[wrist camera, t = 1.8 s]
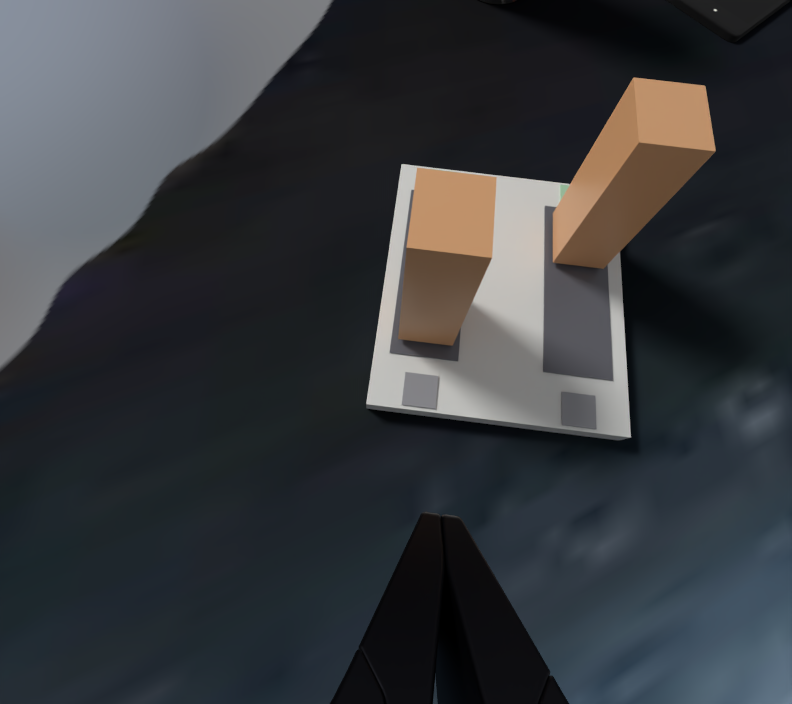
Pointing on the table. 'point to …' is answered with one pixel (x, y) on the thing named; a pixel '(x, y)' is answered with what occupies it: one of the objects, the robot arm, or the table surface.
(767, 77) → the table surface
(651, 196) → the tab
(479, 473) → the table surface
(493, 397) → the switch bank
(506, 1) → the deodorant
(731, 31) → the cell phone
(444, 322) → the tab
